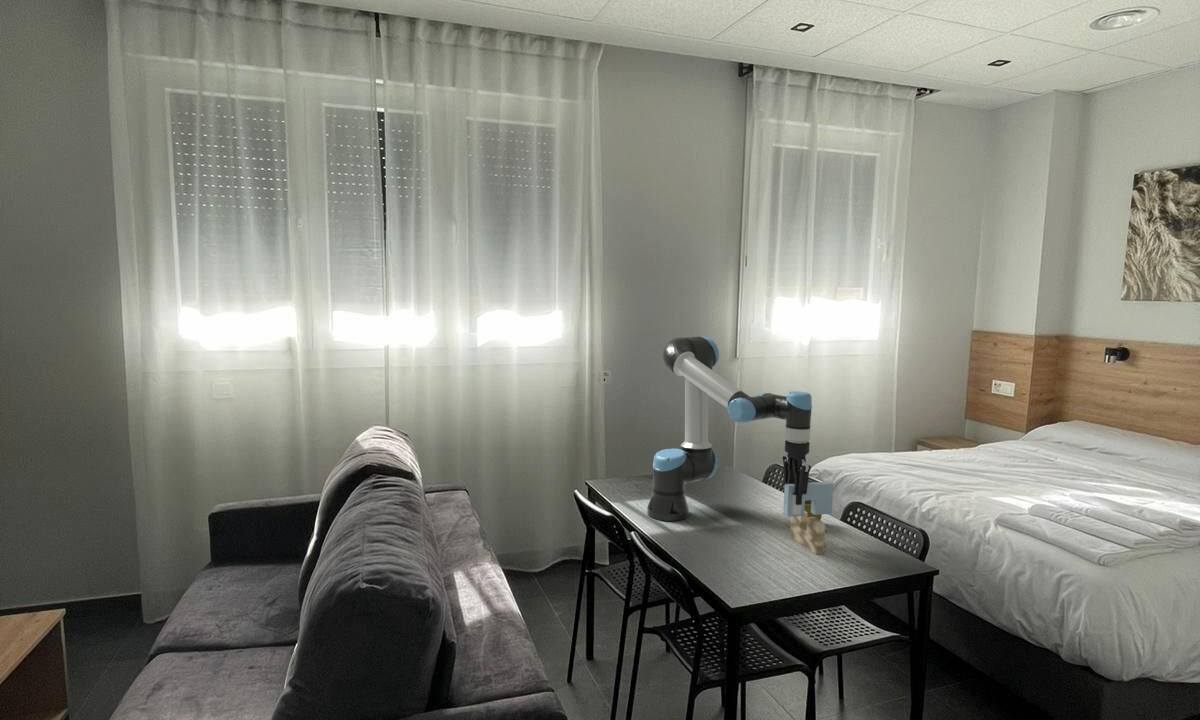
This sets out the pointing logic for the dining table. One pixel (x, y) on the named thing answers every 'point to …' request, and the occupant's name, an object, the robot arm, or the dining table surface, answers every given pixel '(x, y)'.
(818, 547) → the tan wooden block
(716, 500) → the dining table surface
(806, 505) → the flower pot
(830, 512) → the pale blue upright slab
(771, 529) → the dining table surface
